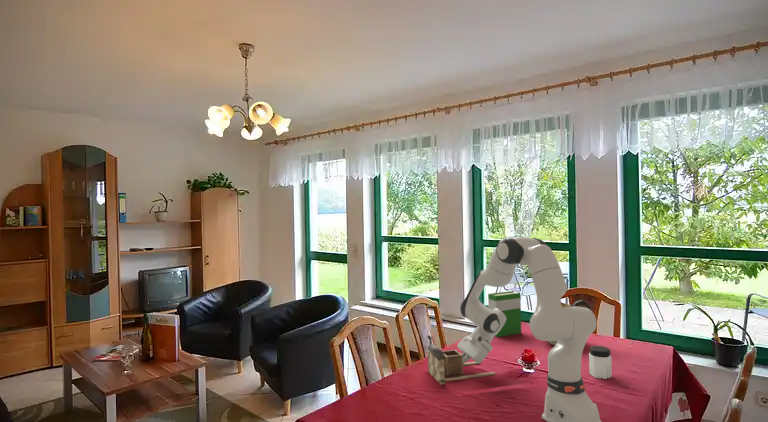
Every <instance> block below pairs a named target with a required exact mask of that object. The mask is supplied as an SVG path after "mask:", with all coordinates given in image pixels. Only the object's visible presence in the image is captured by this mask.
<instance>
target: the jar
mask: <svg viewBox="0 0 768 422" xmlns="http://www.w3.org/2000/svg"><path fill="white" fill-rule="evenodd" d="M588 364H589V366H588V367H589V368H588V369H589V375H590V376H592V377H593V378H595V379H601V378H602V379H601V380H607V378H608V379H611V378H612V377H613V373H612V371H613V370H612V369H613V368H612V367H613V366H612V354H611V349H610V348H609V347H606V346H602V345H601V346H600V345H593V346H590V347H589V353H588Z"/></svg>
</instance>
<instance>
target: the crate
mask: <svg viewBox="0 0 768 422" xmlns="http://www.w3.org/2000/svg"><path fill="white" fill-rule="evenodd" d="M441 351H442V352H443V353H444V356H443V358H442V360H444V371H445V378H449V377H457V376H464V366H463V355H462V352H460V351H458V350H457V349H448V350H441Z"/></svg>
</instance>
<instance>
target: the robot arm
mask: <svg viewBox="0 0 768 422" xmlns="http://www.w3.org/2000/svg"><path fill="white" fill-rule="evenodd" d="M517 265H521V266H523V265H524V266H525V265H527V267H528V269H529V274H530V276H531V280H532V282H533V283H532V284H533V286H534V290H535V294H536V307H535V311H534V313H533V314H532V315H531V317H530V319H529V329H530V332H531V334H532V335H533V336H534V338H535V339H537V340H540V341H545V342H548V341H556V340H558V341H557V343H556V345H553V347H552V348H551V349H550V350H549V352H548V355H547V368H548V369H547V370H548V371H547V372H548V373H547V376H546V383H547V386H548V387H547V390H546V393H545V396H544V408H543V409H544V410H543V413H542V414H541V419H543V420H544V421H546V422H602V420H601V418H600V413H599V412H600V411H599V410H598V406H597V403H594V402H593V400H592V399H591V398H590V397H589V395H588V394H587V393H586V389H587V387H586V386H587V384H584V383H585V382H584V380H583V377H582V355H583V351H584V349H585V345H586V343H587V341H588V339H589V337H590V336H591V335H592V334H593V333H594V332H595V331H596V328H597V324H598V321H597V317H596V315H595V313H594V312H593V310H592V311H591V310H590V309H588V308H586V306H578V307H577V306H573V307H565V308H562V306H561V302H562V297H563V296H564V295H565V294H566V293H567V290H568V286H567V283H566V280H565V276H564V275H563V272H562V269H561V266H560V263H559V261H558V258H557V257H556V255H555V254H554V251H553V250H552V248H551V247H550V246H548V245H547V244H546V242H545V241H543V240H542V239H539V238H537V237H536V238H535V237H523V236H519V237H517V236H515V237H505V238H502V239H501V240H499V242H498V243H497V245H496V247H495V249H494V250H493V253H492V254H491V256H490V259H489V262H488V265H487V268H485V269H481V271H479V273H478V274H477V275H476V277H475V279H474V280H473V283H472V284H471V286H470V289H469V290H468V293H467V294H466V297H465V298H464V299H463V301H462V302H461V303H460V314H461V316H462V317H463V318H465V319H467V320H469V321H470V322H471V323H473V324H474V325H475V326H476V327H475V329H473V331H472V332H471V333H470V334H468V335H466V336H464V337H463V338H462V339H461V340H460V341H459V342H458V343H457V345H456V347H457V348H458V350H460V351H461V354H462V355H463V365H464V364H465V363H468V361H470V360H473V362H477V363H478V364H477V365H480V364H479V363H481V364H482V363H483V361H484V360H485V359H486V358H487V356H488V355H489V352H492V351H493V346H492V343H491V342H492V341H493V339H494V337H495V335H496V334H498V332H499V331H500V330H501V328H502V327H503V325H504V324H505V322H506V316H505V314H504V313H503V312H502V311H501V310H499V309H497V308H494V309H493V310H492V309H490V308H489V306H486V305H485V304H484V303H482V302H481V300H480V296H481V294H482V292H483V290H484V289H485V287H486V286H489V287H493V288H502V287H505V286H507V285H508V284H509V283H510V282H511V281H512V278H513V277H514V273H515V270H516V268H517V267H516V266H517Z"/></svg>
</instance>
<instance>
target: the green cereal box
mask: <svg viewBox="0 0 768 422" xmlns="http://www.w3.org/2000/svg"><path fill="white" fill-rule="evenodd" d="M487 297H488V299H487V300H488V302H487V303H488V305H487V306H488V308H490V309H492V310H493V309H494V308H497V309H499V310H501V311H502V312H503V313H504V314H505V316H506V322H505V324H504V325H503V327H502V328H501V330H500V331H499V332H498V334H496V335H495V336H494V337H496V338H501V337H506V336H512V335H518V334H519V335H520V334H522V312H521V311H522V309H521V306H522V304H521V303H522V302H521V301H522V300H521V292H514V290H511V291H501V292H494V293H493V292H492V293H488V295H487Z"/></svg>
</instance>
